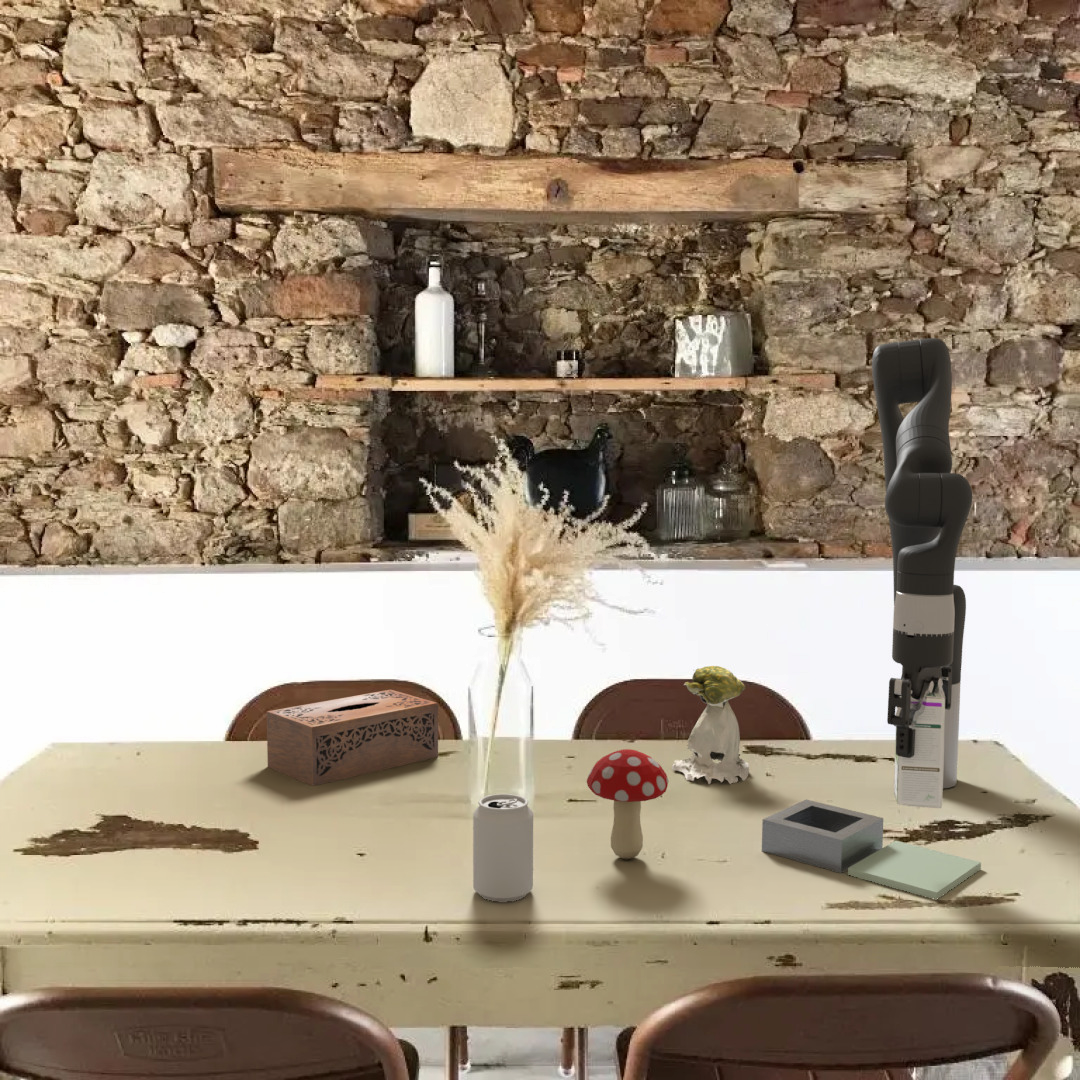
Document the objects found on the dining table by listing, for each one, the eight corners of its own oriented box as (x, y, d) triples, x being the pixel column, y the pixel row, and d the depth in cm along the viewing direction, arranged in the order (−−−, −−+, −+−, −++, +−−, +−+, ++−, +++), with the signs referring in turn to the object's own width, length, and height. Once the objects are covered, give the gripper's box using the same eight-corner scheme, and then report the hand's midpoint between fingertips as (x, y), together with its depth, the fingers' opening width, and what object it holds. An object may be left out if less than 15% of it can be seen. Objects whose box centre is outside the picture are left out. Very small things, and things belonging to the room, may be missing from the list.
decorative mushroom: (608, 878, 151) (609, 765, 150) (572, 850, 161) (573, 744, 160) (682, 866, 156) (684, 756, 154) (642, 839, 166) (644, 736, 164)
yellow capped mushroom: (727, 760, 206) (729, 657, 204) (762, 781, 194) (765, 672, 192) (664, 765, 202) (666, 661, 201) (696, 787, 190) (698, 676, 188)
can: (472, 882, 150) (472, 791, 149) (530, 880, 150) (531, 790, 149) (474, 906, 142) (474, 810, 141) (535, 904, 143) (535, 808, 142)
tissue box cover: (390, 742, 218) (390, 689, 217) (438, 758, 207) (438, 703, 206) (267, 768, 201) (266, 711, 200) (312, 787, 190) (311, 727, 189)
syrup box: (943, 809, 150) (948, 697, 148) (895, 805, 151) (900, 694, 150) (937, 796, 155) (942, 688, 154) (891, 792, 156) (896, 686, 155)
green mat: (895, 847, 163) (895, 840, 163) (980, 869, 155) (981, 862, 155) (847, 875, 153) (848, 867, 153) (936, 900, 145) (936, 892, 145)
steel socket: (805, 829, 170) (806, 799, 170) (882, 849, 162) (883, 818, 162) (761, 851, 161) (762, 819, 161) (840, 873, 153) (841, 840, 153)
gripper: (919, 617, 159) (915, 734, 160) (870, 630, 148) (866, 755, 150) (973, 623, 154) (968, 744, 155) (927, 637, 143) (922, 767, 145)
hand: (918, 750), depth 153 cm, fingers closed on syrup box, 8 cm apart
